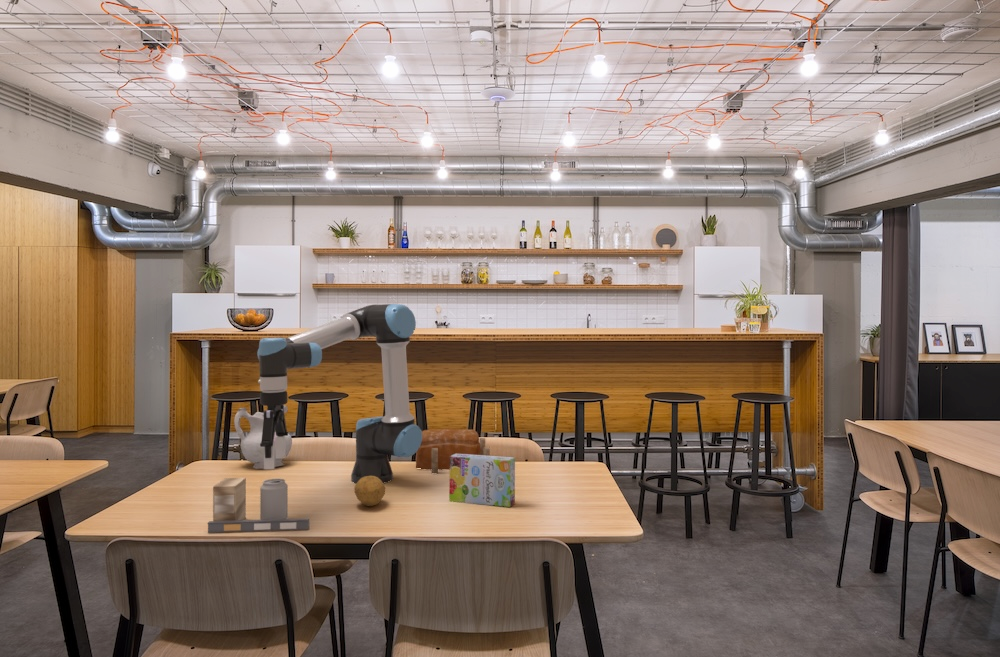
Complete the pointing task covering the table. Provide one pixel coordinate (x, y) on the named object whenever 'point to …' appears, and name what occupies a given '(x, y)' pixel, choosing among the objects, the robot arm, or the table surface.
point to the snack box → (482, 479)
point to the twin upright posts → (435, 454)
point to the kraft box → (229, 500)
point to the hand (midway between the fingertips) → (275, 463)
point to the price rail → (258, 525)
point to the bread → (446, 446)
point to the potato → (369, 490)
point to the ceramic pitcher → (257, 439)
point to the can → (274, 499)
